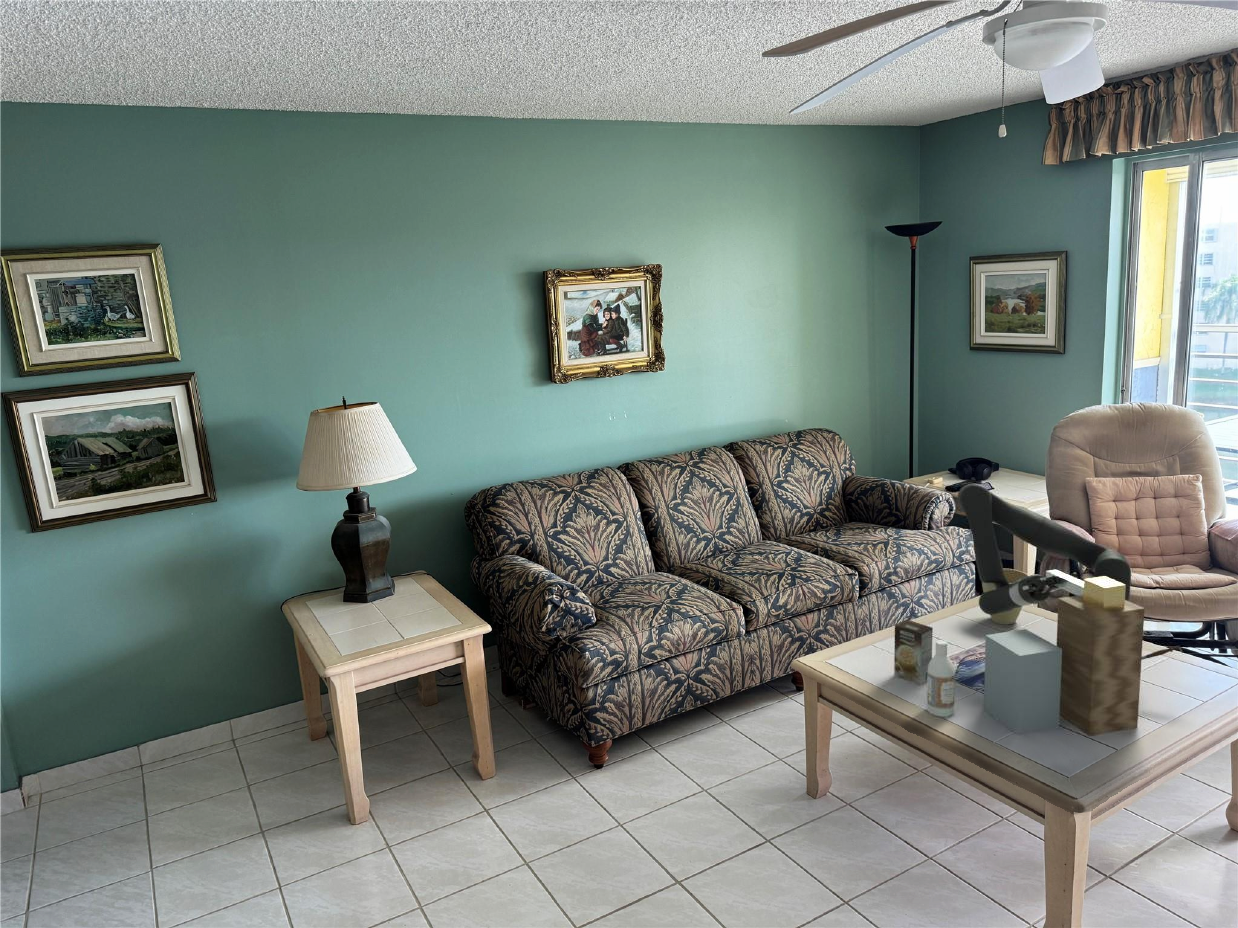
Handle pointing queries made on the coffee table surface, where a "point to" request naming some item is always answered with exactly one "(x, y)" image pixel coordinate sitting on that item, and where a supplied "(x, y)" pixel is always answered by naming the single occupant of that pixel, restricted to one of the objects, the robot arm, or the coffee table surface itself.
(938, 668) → the bath foam
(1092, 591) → the wood and metal block
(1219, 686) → the coffee table surface
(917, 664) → the coffee box
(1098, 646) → the tall stand
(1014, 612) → the plant pot
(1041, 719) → the blue gray block
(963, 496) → the robot arm
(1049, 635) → the coffee table surface
